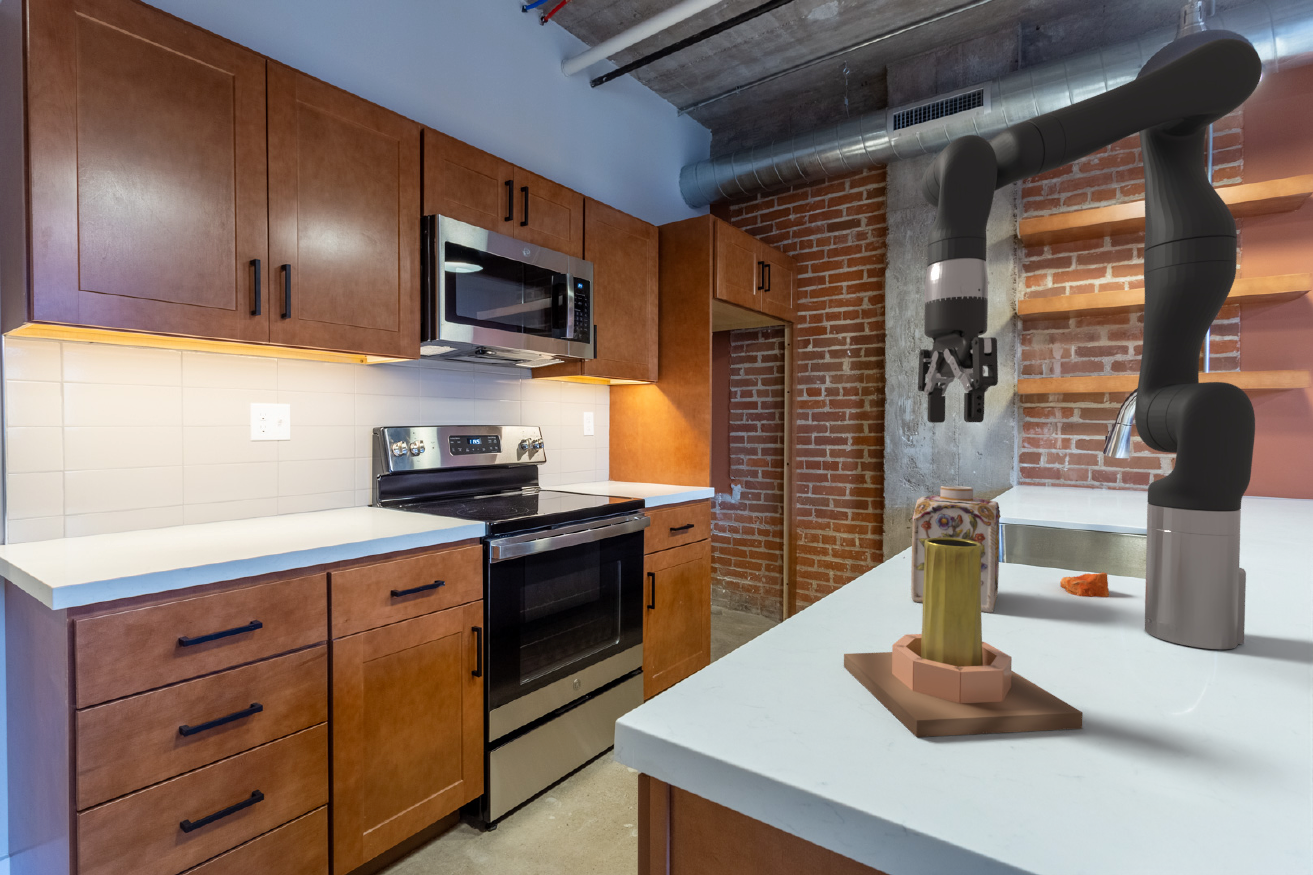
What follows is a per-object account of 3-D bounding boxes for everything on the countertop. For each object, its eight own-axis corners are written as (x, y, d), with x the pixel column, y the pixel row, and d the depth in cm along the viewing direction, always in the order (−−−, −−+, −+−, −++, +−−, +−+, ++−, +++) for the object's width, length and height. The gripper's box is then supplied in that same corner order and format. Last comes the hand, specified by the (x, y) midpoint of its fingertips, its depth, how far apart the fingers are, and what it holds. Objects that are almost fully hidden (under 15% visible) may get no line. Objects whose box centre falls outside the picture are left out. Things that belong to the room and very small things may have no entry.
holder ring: (967, 658, 70) (967, 632, 70) (1032, 699, 59) (1033, 668, 59) (878, 662, 69) (878, 635, 69) (929, 704, 58) (929, 673, 58)
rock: (1024, 589, 108) (1024, 564, 108) (1082, 585, 111) (1082, 561, 110) (1086, 609, 96) (1087, 581, 96) (1149, 604, 99) (1149, 577, 99)
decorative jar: (909, 602, 97) (910, 487, 97) (921, 585, 107) (922, 481, 107) (996, 614, 91) (998, 492, 91) (1000, 596, 101) (1002, 485, 101)
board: (975, 661, 73) (975, 648, 73) (1082, 728, 57) (1082, 712, 57) (843, 666, 71) (844, 653, 71) (916, 736, 55) (916, 720, 55)
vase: (993, 694, 61) (995, 548, 60) (926, 689, 62) (927, 546, 61) (973, 670, 67) (974, 537, 66) (912, 666, 68) (914, 535, 67)
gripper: (1019, 289, 75) (1016, 422, 76) (951, 310, 90) (949, 422, 90) (960, 287, 75) (958, 422, 75) (901, 308, 89) (900, 422, 89)
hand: (953, 422), depth 82 cm, fingers open, 8 cm apart
